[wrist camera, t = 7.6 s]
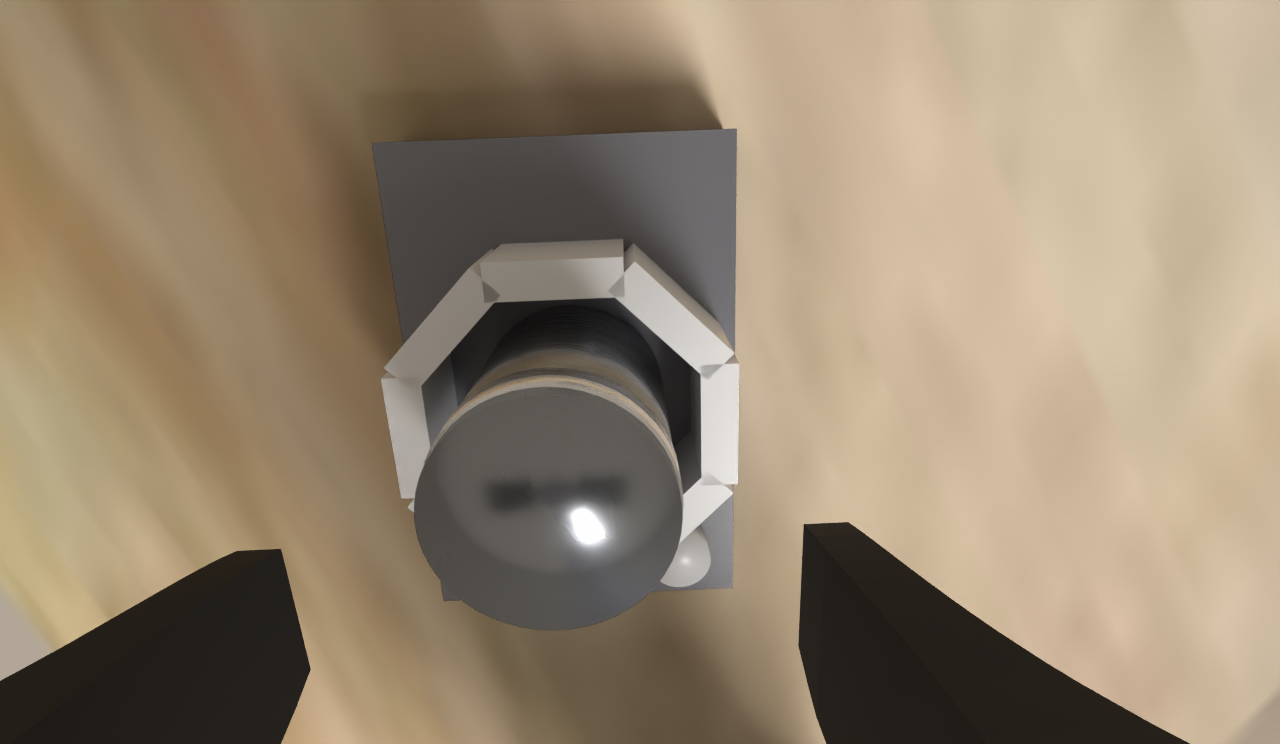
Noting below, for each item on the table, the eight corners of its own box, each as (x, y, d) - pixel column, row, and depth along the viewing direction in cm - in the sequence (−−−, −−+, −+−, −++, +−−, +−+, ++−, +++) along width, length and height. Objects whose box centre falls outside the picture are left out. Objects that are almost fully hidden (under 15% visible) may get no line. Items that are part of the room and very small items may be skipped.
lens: (674, 461, 18) (698, 616, 12) (501, 483, 18) (444, 647, 12) (653, 291, 16) (669, 375, 10) (465, 316, 16) (380, 412, 10)
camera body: (722, 546, 21) (748, 652, 16) (460, 558, 21) (418, 667, 16) (724, 129, 17) (758, 127, 13) (400, 142, 17) (324, 143, 12)
